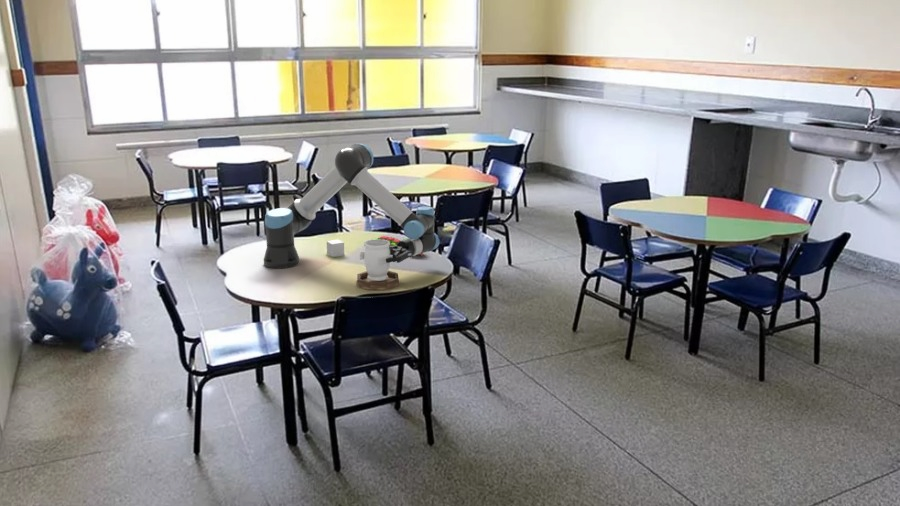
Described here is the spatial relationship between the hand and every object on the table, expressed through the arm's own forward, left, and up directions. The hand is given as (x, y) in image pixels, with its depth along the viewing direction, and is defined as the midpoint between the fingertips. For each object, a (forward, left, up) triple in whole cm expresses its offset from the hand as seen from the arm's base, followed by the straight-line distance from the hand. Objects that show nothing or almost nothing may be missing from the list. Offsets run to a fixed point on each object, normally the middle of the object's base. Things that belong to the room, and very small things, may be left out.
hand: (369, 259), depth 272 cm
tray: (+3, +3, -11) cm, 12 cm away
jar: (+3, +3, -9) cm, 10 cm away
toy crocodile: (+10, +51, -11) cm, 54 cm away
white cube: (-15, +44, -11) cm, 48 cm away
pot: (+22, +40, -11) cm, 47 cm away
